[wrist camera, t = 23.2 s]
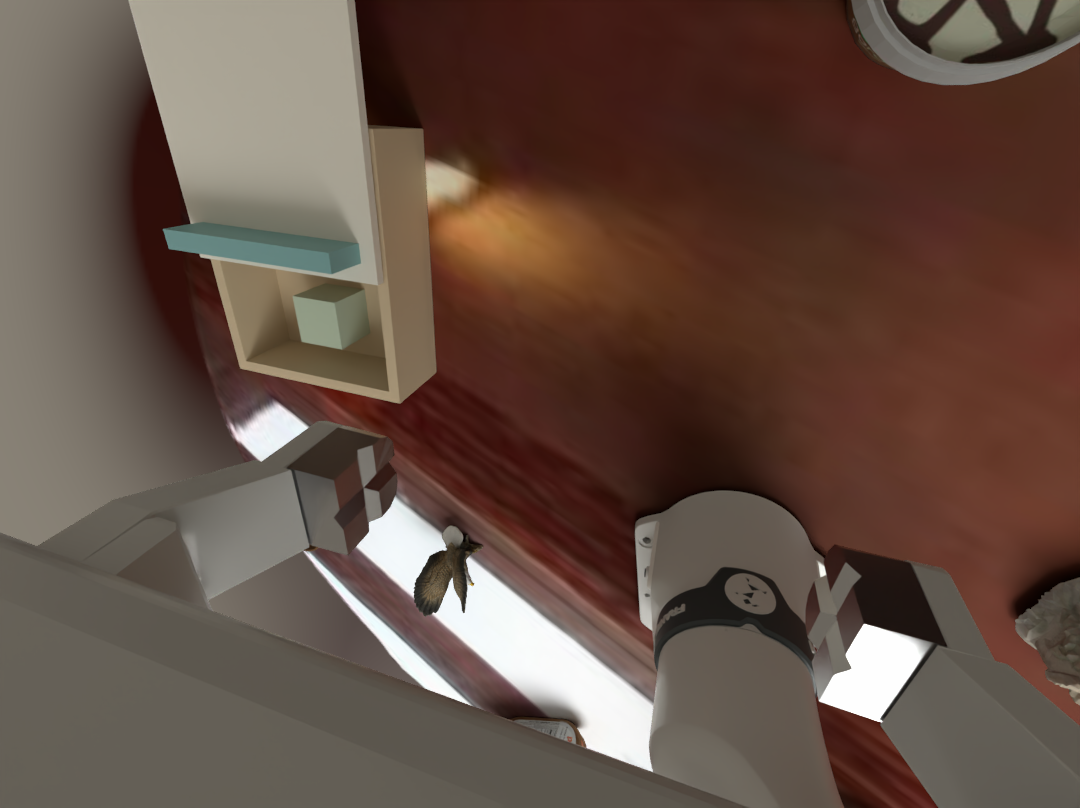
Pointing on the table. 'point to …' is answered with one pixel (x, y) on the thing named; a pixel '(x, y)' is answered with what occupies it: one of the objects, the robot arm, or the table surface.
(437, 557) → the eagle figurine
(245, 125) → the lid
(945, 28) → the food container
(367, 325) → the cube
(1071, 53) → the table surface
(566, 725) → the tin
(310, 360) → the box
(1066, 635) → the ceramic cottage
